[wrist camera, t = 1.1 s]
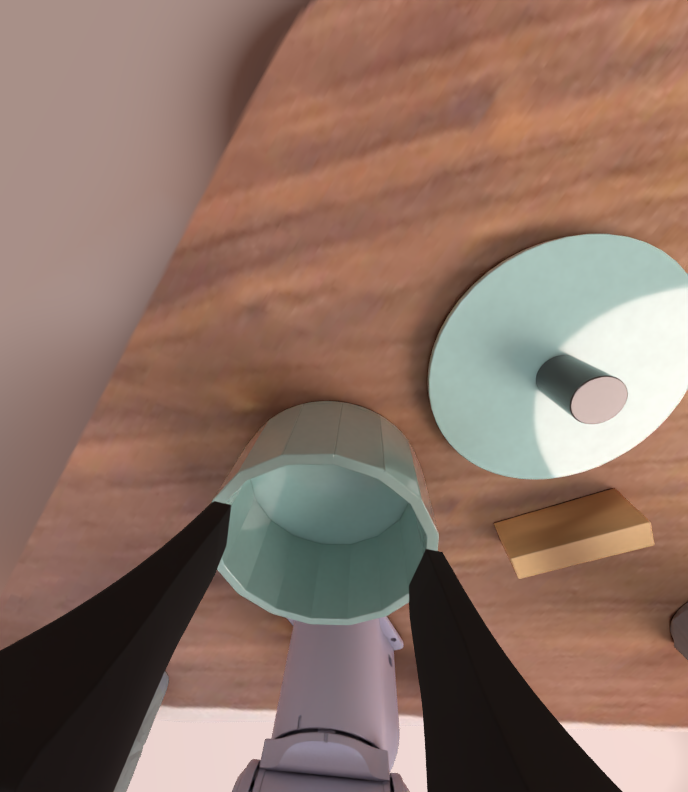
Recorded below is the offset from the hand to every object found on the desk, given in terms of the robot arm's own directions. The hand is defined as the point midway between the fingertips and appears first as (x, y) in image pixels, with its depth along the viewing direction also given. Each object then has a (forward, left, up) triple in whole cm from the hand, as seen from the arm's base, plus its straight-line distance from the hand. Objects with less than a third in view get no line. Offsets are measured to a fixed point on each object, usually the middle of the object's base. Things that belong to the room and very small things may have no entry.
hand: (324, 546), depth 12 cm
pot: (-4, +3, -10) cm, 11 cm away
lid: (-2, -12, -9) cm, 15 cm away
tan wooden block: (-13, -10, -10) cm, 19 cm away
